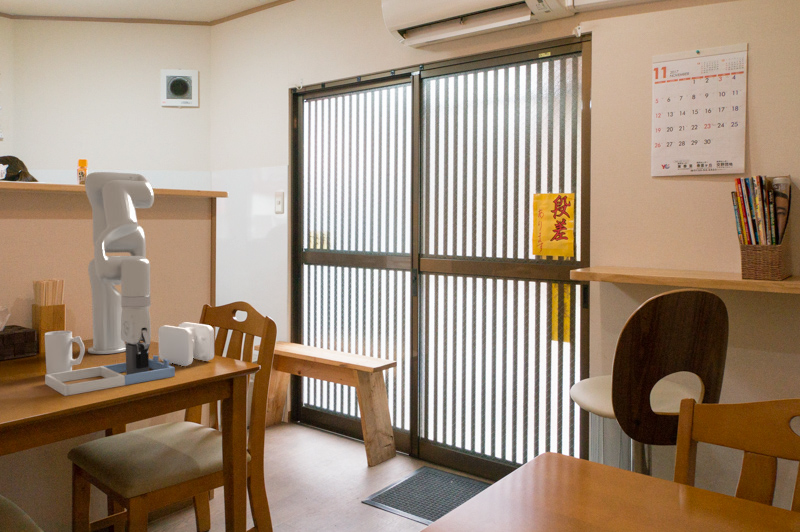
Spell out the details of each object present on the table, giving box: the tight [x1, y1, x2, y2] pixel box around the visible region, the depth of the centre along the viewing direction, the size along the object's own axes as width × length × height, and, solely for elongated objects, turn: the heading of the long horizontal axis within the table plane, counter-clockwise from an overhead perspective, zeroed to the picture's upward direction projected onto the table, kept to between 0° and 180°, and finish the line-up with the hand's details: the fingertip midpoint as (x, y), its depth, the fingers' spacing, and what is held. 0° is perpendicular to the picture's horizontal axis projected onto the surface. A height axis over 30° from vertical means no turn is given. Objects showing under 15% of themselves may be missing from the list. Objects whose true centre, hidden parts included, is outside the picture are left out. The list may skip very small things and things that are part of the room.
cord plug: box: [125, 341, 150, 375], centre depth 173 cm, size 4×4×12 cm
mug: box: [44, 330, 86, 375], centre depth 173 cm, size 10×7×12 cm, turn 100°
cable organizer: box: [157, 321, 215, 367], centre depth 190 cm, size 15×11×12 cm
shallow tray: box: [44, 354, 176, 397], centre depth 168 cm, size 16×28×4 cm, turn 136°
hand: (137, 365), depth 173 cm, fingers open, 5 cm apart
